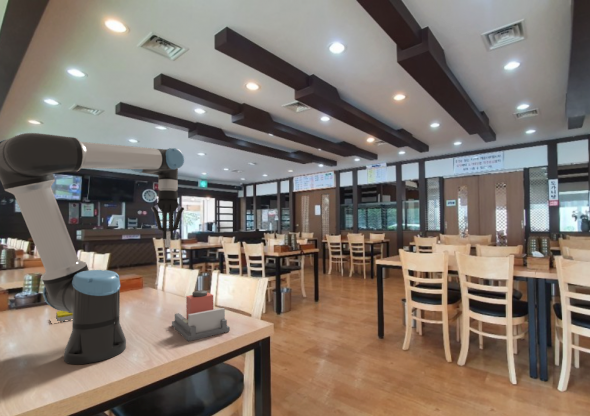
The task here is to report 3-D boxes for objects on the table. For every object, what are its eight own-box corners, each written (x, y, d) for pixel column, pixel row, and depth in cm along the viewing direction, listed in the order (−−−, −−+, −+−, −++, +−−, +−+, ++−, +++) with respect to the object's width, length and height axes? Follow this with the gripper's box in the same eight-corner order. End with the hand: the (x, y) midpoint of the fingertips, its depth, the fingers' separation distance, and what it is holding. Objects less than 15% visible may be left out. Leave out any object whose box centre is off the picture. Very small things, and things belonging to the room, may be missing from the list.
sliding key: (190, 328, 105) (190, 295, 106) (186, 324, 109) (186, 292, 110) (213, 323, 110) (213, 291, 110) (208, 320, 114) (208, 289, 114)
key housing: (188, 341, 97) (187, 317, 98) (171, 325, 114) (171, 304, 114) (229, 331, 106) (229, 309, 106) (208, 317, 122) (208, 298, 122)
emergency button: (96, 306, 129) (50, 314, 119) (96, 317, 128) (50, 325, 119) (93, 302, 136) (49, 309, 126) (92, 312, 135) (49, 320, 126)
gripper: (181, 192, 136) (181, 246, 135) (149, 190, 129) (148, 247, 127) (186, 190, 130) (186, 246, 129) (153, 188, 123) (152, 248, 121)
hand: (167, 247), depth 128 cm, fingers closed
